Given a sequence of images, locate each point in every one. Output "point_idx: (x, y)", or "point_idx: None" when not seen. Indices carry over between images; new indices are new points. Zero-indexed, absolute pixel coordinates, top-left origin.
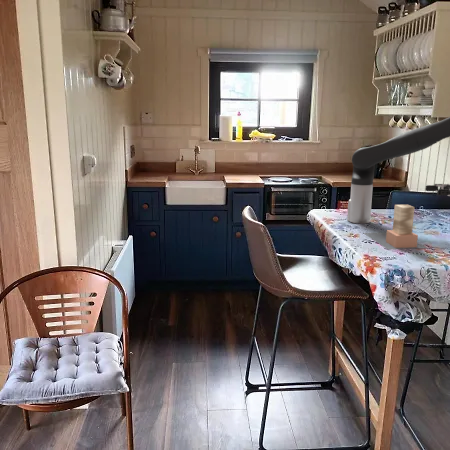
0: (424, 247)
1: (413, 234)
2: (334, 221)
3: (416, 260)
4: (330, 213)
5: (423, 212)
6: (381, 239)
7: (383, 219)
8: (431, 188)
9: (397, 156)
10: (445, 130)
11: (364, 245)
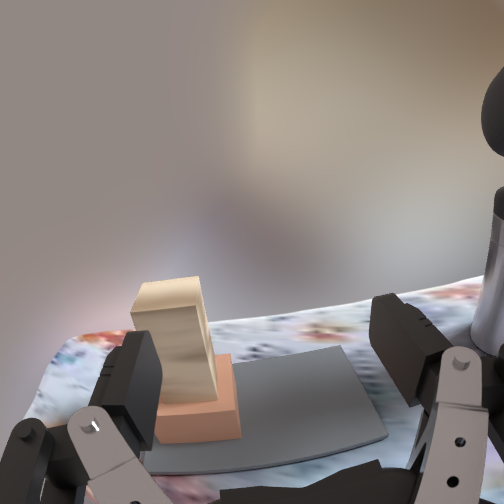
0: (152, 464)
1: (159, 407)
2: (462, 300)
3: (77, 405)
4: None
5: None
6: (264, 377)
7: None
8: (393, 350)
9: None
10: None
11: (224, 344)
